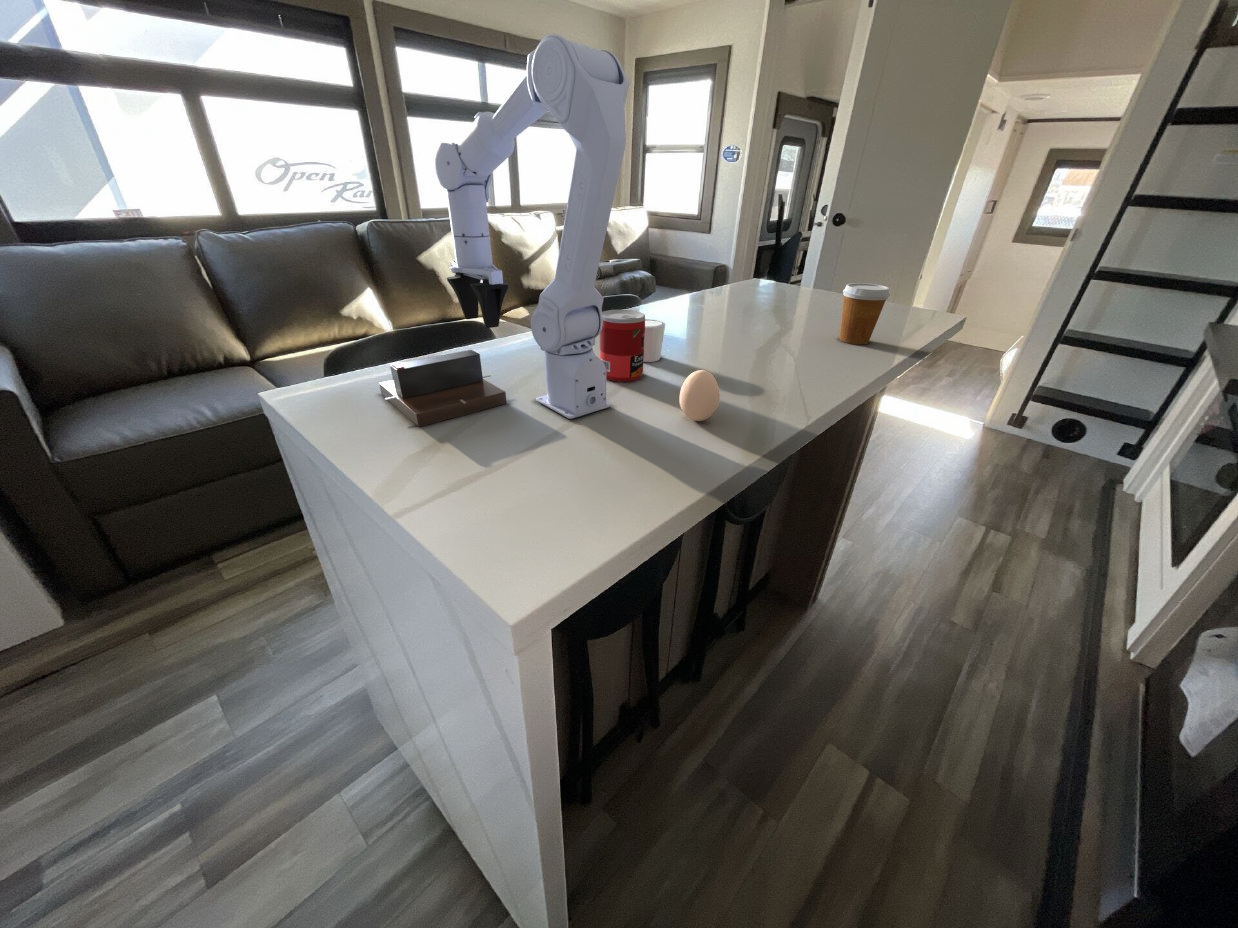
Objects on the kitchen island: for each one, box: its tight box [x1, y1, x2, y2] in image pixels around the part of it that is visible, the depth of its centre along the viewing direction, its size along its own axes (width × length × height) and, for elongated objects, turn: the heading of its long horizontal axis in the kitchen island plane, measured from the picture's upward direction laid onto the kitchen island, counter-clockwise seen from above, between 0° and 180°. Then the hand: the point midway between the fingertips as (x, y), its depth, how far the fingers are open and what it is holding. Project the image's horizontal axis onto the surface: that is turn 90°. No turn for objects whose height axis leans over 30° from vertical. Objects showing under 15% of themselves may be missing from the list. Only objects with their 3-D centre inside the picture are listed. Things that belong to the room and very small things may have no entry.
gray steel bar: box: [389, 349, 484, 399], centre depth 76 cm, size 13×3×5 cm, turn 130°
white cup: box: [643, 318, 666, 363], centre depth 98 cm, size 7×7×7 cm
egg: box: [678, 369, 721, 422], centre depth 71 cm, size 6×6×8 cm
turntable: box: [378, 374, 508, 428], centre depth 78 cm, size 17×17×2 cm
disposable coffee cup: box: [838, 282, 890, 345], centre depth 110 cm, size 10×10×12 cm
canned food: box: [599, 309, 646, 383], centre depth 87 cm, size 8×8×11 cm
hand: (481, 322), depth 84 cm, fingers open, 7 cm apart
